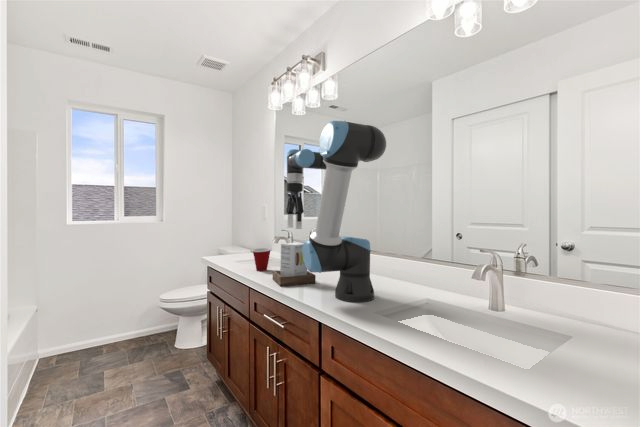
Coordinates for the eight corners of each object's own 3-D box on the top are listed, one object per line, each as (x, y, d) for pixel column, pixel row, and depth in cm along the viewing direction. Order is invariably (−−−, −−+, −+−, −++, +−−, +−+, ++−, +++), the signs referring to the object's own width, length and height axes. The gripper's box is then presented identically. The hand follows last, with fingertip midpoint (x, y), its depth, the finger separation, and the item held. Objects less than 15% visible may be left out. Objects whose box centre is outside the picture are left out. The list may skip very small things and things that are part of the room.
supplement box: (294, 282, 138) (294, 245, 138) (279, 279, 144) (280, 243, 144) (307, 279, 146) (308, 243, 146) (293, 276, 151) (293, 242, 151)
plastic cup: (247, 270, 172) (248, 248, 172) (264, 267, 179) (264, 247, 179) (257, 272, 164) (258, 250, 164) (274, 270, 171) (275, 249, 171)
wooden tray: (315, 283, 140) (315, 275, 140) (280, 286, 134) (280, 277, 134) (304, 277, 154) (304, 269, 154) (272, 279, 148) (272, 271, 148)
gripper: (311, 180, 134) (310, 229, 134) (294, 185, 157) (294, 227, 157) (294, 180, 131) (294, 229, 131) (280, 185, 154) (280, 227, 154)
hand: (294, 228), depth 144 cm, fingers open, 13 cm apart
